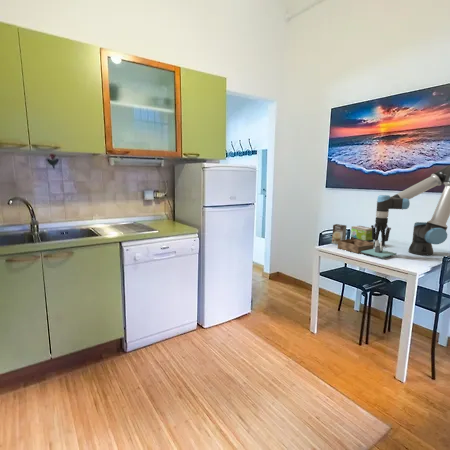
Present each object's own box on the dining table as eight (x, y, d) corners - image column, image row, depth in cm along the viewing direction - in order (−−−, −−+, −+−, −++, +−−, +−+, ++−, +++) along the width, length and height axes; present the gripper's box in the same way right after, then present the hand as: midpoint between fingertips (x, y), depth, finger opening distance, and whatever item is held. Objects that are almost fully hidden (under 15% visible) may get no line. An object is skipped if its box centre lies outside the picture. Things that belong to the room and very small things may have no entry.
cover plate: (396, 254, 198) (397, 247, 198) (382, 257, 191) (382, 250, 190) (375, 249, 212) (375, 243, 211) (361, 252, 204) (361, 245, 204)
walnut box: (373, 250, 214) (373, 242, 213) (357, 253, 206) (358, 245, 205) (352, 245, 230) (353, 238, 229) (337, 248, 221) (338, 240, 220)
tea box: (349, 243, 240) (351, 226, 238) (358, 242, 244) (359, 225, 242) (365, 247, 227) (366, 228, 224) (373, 245, 231) (375, 228, 228)
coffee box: (331, 243, 239) (332, 224, 237) (335, 242, 243) (336, 223, 241) (341, 245, 232) (343, 226, 230) (345, 244, 236) (346, 225, 234)
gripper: (367, 216, 202) (365, 248, 206) (390, 219, 189) (386, 253, 192) (374, 215, 206) (371, 246, 210) (396, 218, 192) (393, 251, 196)
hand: (378, 249), depth 201 cm, fingers closed on cover plate, 3 cm apart
